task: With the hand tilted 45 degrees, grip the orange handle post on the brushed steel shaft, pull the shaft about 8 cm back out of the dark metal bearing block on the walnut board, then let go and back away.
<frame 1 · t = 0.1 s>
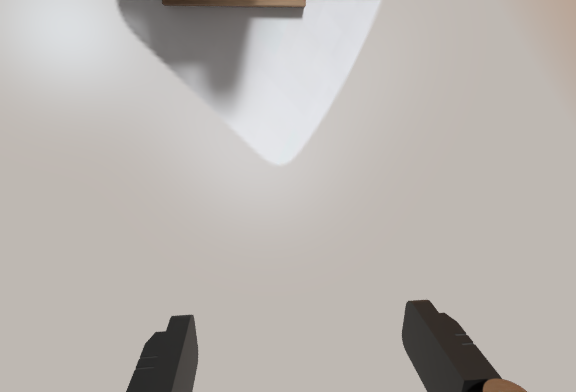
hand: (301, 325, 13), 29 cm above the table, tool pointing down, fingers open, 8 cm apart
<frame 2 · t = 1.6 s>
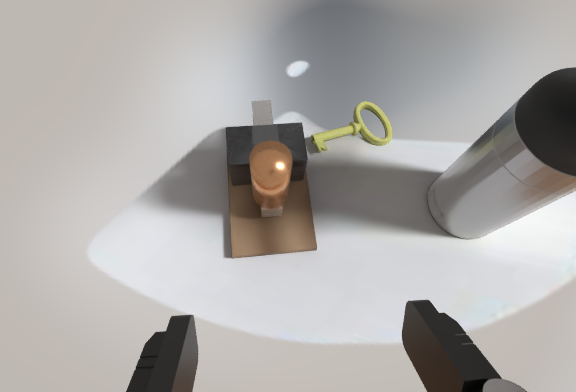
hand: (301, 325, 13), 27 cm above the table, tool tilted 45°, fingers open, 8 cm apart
base board: (269, 200, 43), on the table
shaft: (266, 138, 38), point 7 cm above the table, slide at 0.0 cm
bearing block: (266, 169, 45), resting on base board
key: (352, 133, 49), on the table
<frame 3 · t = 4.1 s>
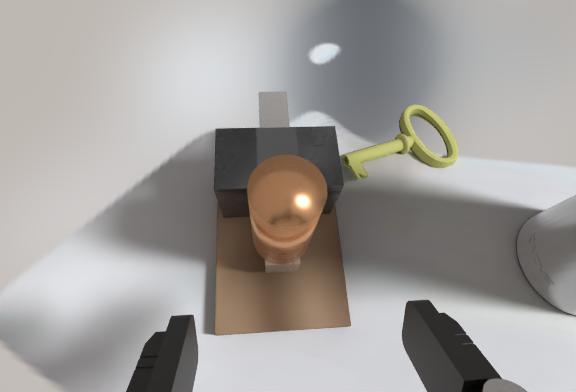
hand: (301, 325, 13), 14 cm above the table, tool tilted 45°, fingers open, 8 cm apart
base board: (278, 242, 29), on the table
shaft: (278, 149, 24), point 7 cm above the table, slide at 0.0 cm
bearing block: (275, 193, 31), resting on base board
key: (398, 151, 34), on the table
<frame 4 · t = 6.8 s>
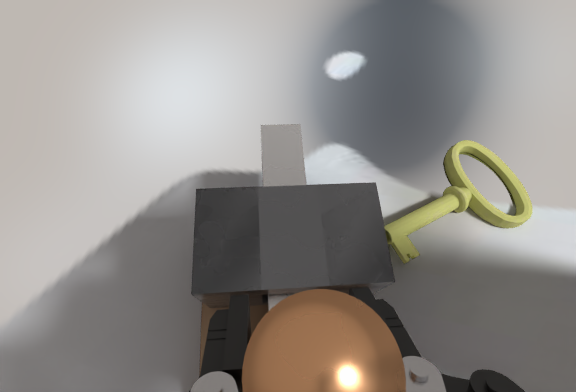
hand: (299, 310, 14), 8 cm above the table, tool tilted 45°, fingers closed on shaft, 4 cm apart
base board: (289, 340, 20), on the table
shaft: (292, 227, 15), point 7 cm above the table, slide at 0.0 cm, touching gripper
bearing block: (284, 264, 22), resting on base board
key: (448, 206, 25), on the table
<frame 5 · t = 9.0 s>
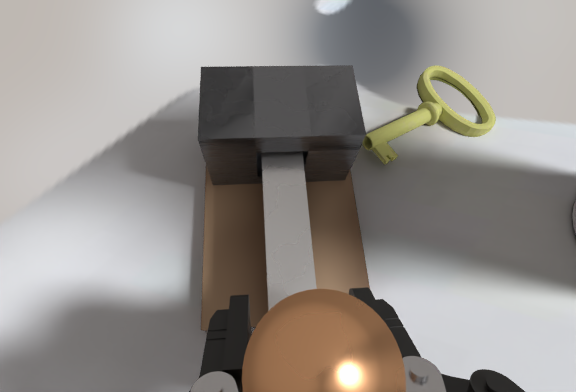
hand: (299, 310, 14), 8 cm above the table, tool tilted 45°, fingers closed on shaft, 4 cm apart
base board: (281, 215, 23), on the table
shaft: (292, 227, 15), point 7 cm above the table, slide at 7.9 cm, touching gripper
bearing block: (277, 158, 25), resting on base board
key: (422, 123, 28), on the table
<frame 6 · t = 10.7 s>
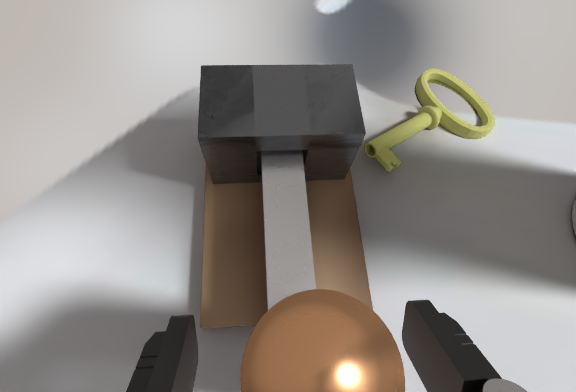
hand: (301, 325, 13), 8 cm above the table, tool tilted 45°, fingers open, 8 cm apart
base board: (280, 214, 23), on the table
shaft: (292, 227, 15), point 7 cm above the table, slide at 8.0 cm
bearing block: (277, 157, 25), resting on base board
key: (422, 127, 28), on the table
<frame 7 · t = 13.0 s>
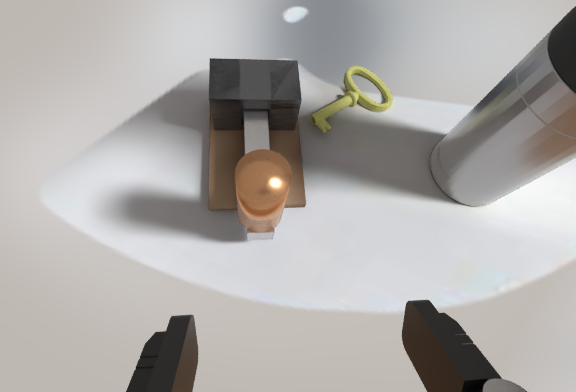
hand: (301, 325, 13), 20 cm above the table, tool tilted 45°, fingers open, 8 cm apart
base board: (255, 150, 39), on the table
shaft: (258, 143, 30), point 7 cm above the table, slide at 8.0 cm
bearing block: (254, 116, 40), resting on base board
key: (348, 105, 43), on the table
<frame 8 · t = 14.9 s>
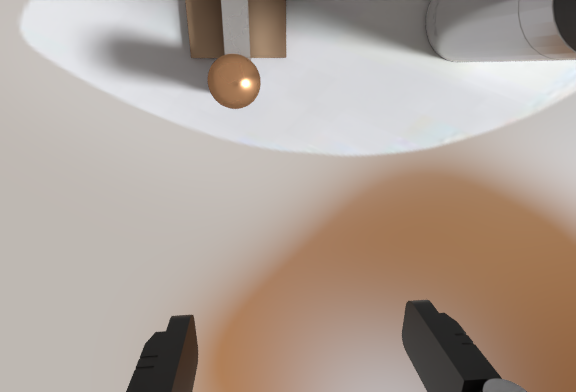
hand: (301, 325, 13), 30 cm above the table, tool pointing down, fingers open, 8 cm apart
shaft: (233, 11, 29), point 7 cm above the table, slide at 8.0 cm
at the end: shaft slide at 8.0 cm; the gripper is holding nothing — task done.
